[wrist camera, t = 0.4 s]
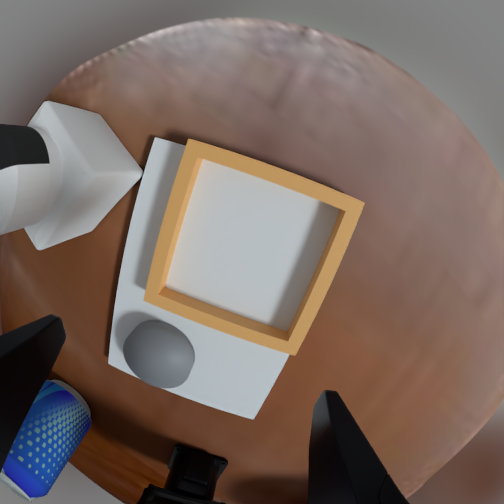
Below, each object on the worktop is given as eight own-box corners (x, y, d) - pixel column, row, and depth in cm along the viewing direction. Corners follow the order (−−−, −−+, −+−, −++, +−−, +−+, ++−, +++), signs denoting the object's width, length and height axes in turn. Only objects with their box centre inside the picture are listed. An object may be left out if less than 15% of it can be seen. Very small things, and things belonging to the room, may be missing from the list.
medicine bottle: (52, 172, 21) (-54, 184, 10) (100, 112, 20) (-11, 86, 8) (92, 232, 22) (-15, 276, 11) (147, 173, 21) (33, 179, 9)
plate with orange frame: (254, 414, 26) (252, 431, 23) (111, 359, 25) (100, 372, 23) (355, 200, 20) (365, 202, 18) (161, 131, 20) (148, 127, 17)
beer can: (35, 375, 28) (-33, 445, 13) (71, 373, 27) (-7, 462, 11) (67, 422, 30) (15, 496, 14) (107, 425, 29) (52, 516, 13)
